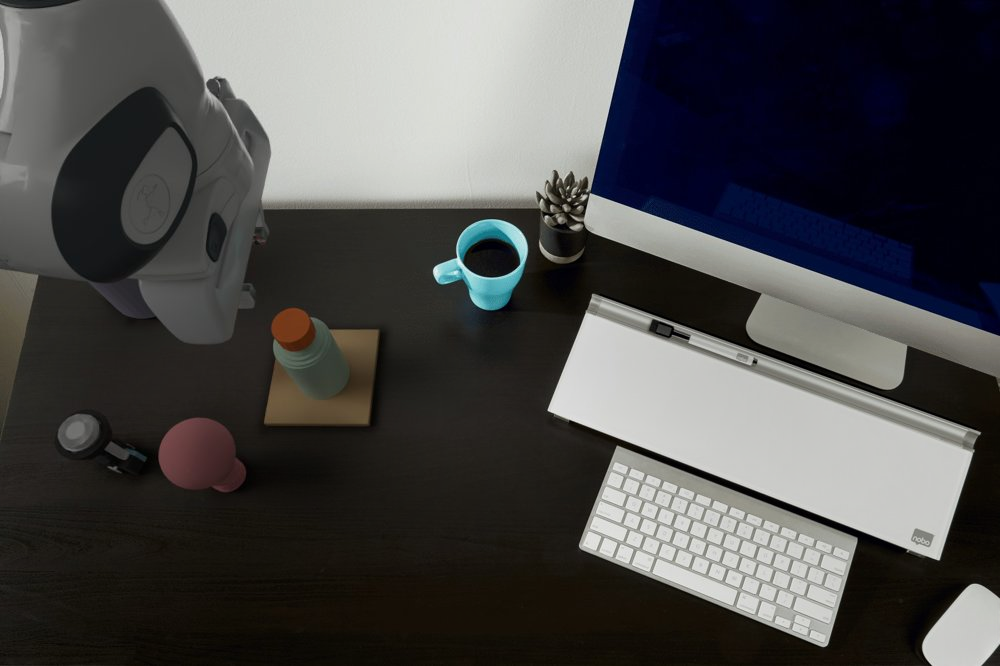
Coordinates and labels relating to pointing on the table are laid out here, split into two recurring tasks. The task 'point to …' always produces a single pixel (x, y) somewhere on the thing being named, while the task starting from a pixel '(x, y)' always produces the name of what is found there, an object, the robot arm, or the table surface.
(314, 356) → the bottle
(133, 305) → the container
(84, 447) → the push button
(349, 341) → the coaster
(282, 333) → the cap
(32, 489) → the table surface
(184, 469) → the light bulb
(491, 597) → the table surface
